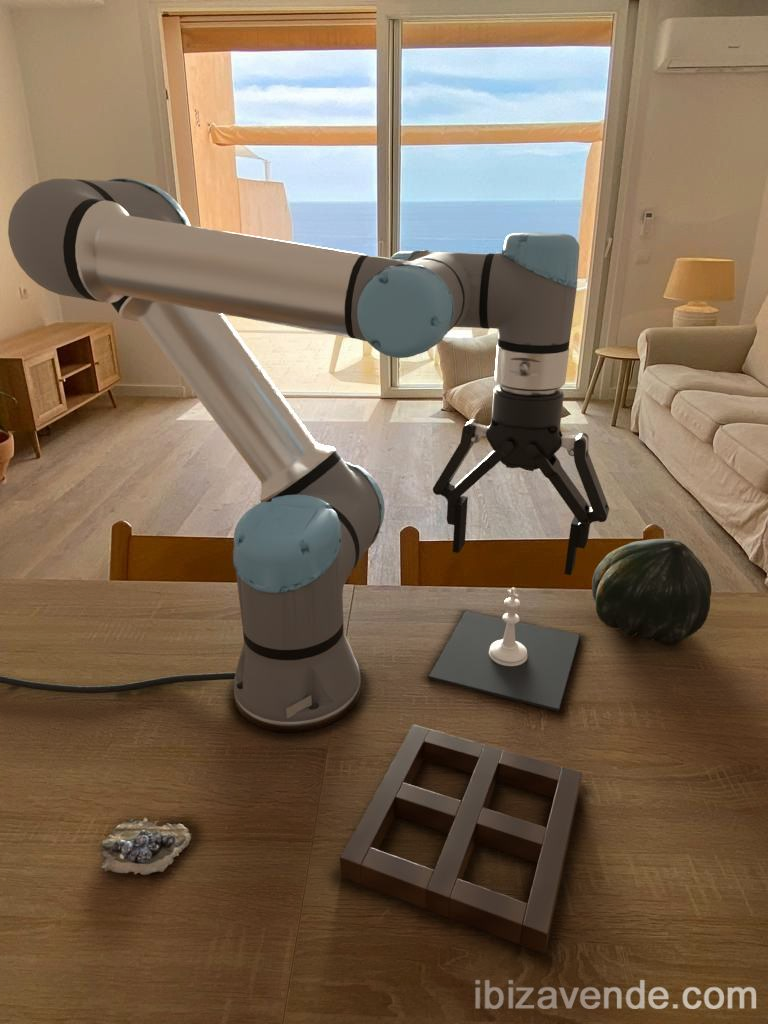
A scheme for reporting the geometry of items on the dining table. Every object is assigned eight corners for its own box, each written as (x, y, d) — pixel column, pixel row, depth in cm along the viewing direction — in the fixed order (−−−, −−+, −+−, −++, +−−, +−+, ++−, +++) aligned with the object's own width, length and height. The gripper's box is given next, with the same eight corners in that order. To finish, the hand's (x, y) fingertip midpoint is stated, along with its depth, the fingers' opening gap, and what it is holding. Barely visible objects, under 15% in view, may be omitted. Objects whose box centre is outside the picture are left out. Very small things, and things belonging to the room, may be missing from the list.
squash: (586, 554, 104) (608, 514, 90) (690, 565, 102) (729, 526, 88) (583, 648, 98) (606, 621, 85) (694, 661, 96) (735, 635, 83)
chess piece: (504, 670, 87) (509, 602, 83) (481, 650, 91) (485, 584, 87) (535, 659, 89) (542, 592, 85) (511, 639, 93) (517, 574, 89)
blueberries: (101, 831, 66) (97, 816, 65) (187, 806, 69) (184, 792, 68) (102, 891, 60) (98, 876, 59) (196, 862, 63) (193, 847, 62)
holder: (340, 877, 61) (339, 857, 60) (412, 741, 76) (412, 724, 75) (545, 954, 55) (547, 934, 54) (579, 790, 70) (582, 771, 69)
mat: (428, 678, 86) (428, 676, 86) (465, 613, 100) (465, 610, 100) (558, 711, 81) (559, 709, 80) (579, 637, 94) (579, 635, 94)
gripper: (409, 382, 76) (405, 552, 85) (647, 408, 68) (616, 594, 77) (431, 368, 83) (426, 527, 92) (652, 390, 74) (622, 564, 83)
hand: (512, 558), depth 84 cm, fingers open, 13 cm apart
